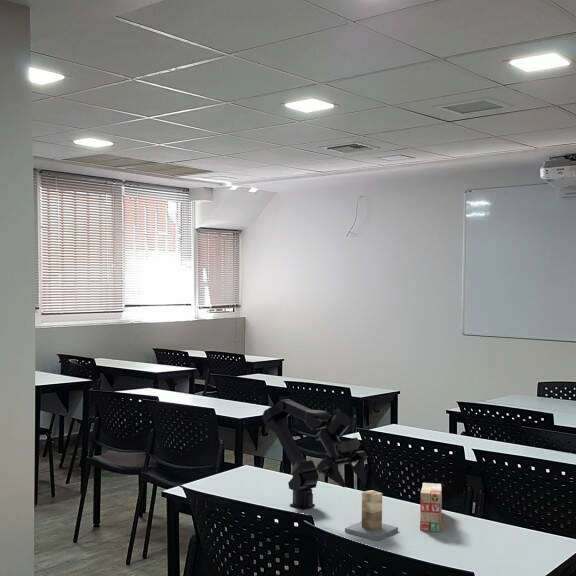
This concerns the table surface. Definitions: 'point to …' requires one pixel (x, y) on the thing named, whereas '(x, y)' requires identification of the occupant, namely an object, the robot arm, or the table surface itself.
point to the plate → (373, 535)
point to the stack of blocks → (431, 507)
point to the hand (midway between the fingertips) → (354, 484)
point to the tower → (371, 510)
